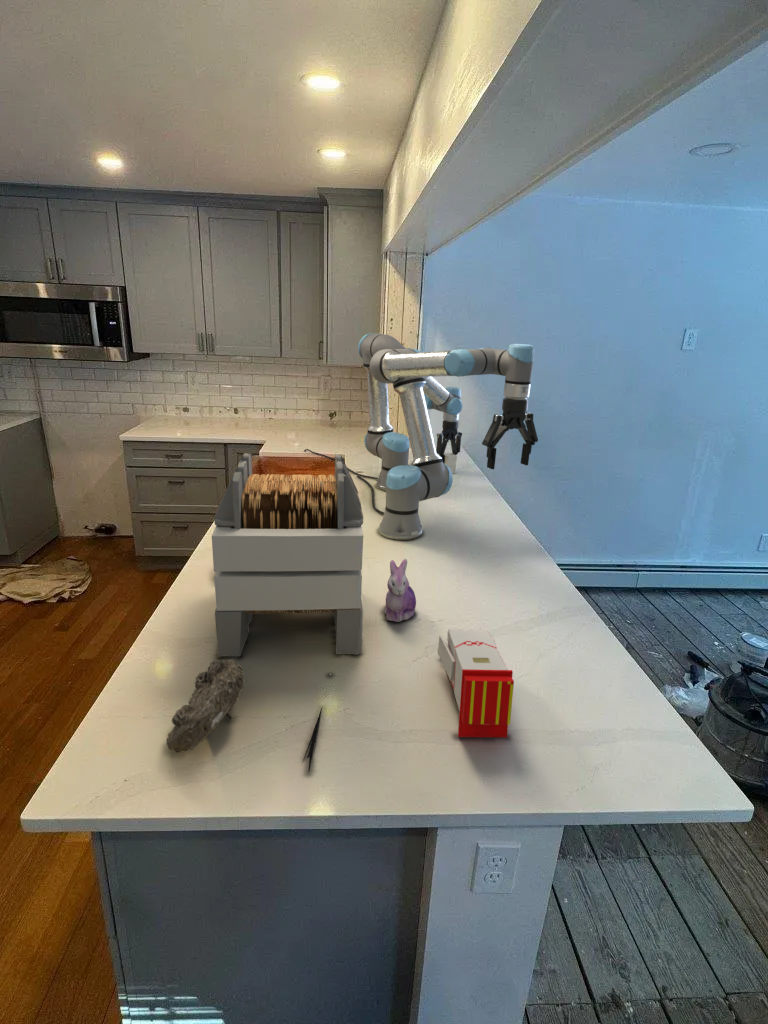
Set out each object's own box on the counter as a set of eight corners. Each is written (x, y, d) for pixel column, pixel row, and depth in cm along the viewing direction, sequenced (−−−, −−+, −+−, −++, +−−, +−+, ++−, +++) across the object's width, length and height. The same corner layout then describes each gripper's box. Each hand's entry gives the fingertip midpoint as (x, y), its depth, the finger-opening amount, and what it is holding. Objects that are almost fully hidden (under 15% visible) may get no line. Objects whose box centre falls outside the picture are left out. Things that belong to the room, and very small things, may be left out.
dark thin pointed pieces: (331, 679, 122) (336, 673, 122) (307, 777, 96) (313, 769, 95) (324, 675, 122) (329, 669, 121) (298, 772, 95) (304, 764, 95)
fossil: (192, 660, 117) (244, 628, 112) (224, 691, 120) (276, 661, 115) (142, 746, 98) (202, 712, 93) (182, 779, 101) (242, 748, 96)
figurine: (392, 627, 141) (395, 572, 136) (374, 608, 149) (376, 556, 144) (425, 619, 145) (429, 566, 140) (405, 601, 154) (408, 550, 149)
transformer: (236, 587, 157) (228, 443, 143) (353, 586, 161) (357, 445, 147) (215, 659, 125) (203, 483, 111) (362, 655, 129) (368, 484, 115)
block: (446, 474, 275) (448, 456, 272) (437, 470, 281) (439, 452, 278) (455, 473, 277) (457, 455, 274) (446, 469, 284) (447, 451, 281)
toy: (488, 613, 130) (523, 677, 101) (484, 667, 133) (517, 744, 104) (435, 612, 130) (455, 676, 101) (432, 666, 133) (451, 743, 103)
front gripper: (491, 401, 161) (483, 473, 168) (555, 398, 173) (545, 465, 180) (474, 397, 167) (468, 466, 175) (538, 394, 179) (529, 459, 186)
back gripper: (439, 422, 263) (435, 471, 271) (470, 420, 272) (466, 467, 280) (430, 419, 270) (427, 467, 277) (461, 417, 278) (457, 463, 286)
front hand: (507, 466), depth 177 cm, fingers open, 13 cm apart
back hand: (446, 467), depth 279 cm, fingers closed on block, 5 cm apart
